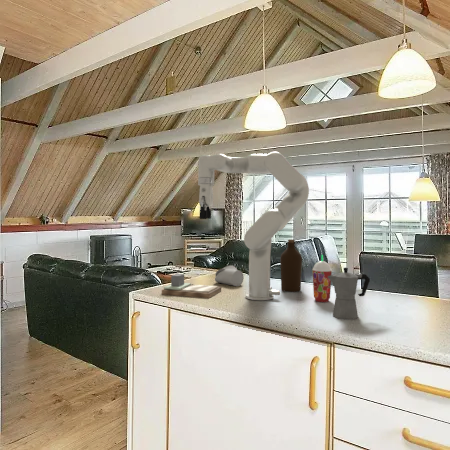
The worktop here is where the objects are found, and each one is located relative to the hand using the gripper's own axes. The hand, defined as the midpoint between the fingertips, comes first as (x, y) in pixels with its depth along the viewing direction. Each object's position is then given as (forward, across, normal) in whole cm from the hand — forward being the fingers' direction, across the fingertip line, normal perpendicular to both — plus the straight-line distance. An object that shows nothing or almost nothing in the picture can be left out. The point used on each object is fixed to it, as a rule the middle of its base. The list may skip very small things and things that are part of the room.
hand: (205, 218), depth 175 cm
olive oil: (+35, +15, -41) cm, 56 cm away
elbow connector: (+36, +30, -8) cm, 47 cm away
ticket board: (+36, +1, +6) cm, 36 cm away
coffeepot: (+34, -29, -61) cm, 76 cm away
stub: (+33, +2, +13) cm, 36 cm away
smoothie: (+34, -6, -54) cm, 64 cm away
